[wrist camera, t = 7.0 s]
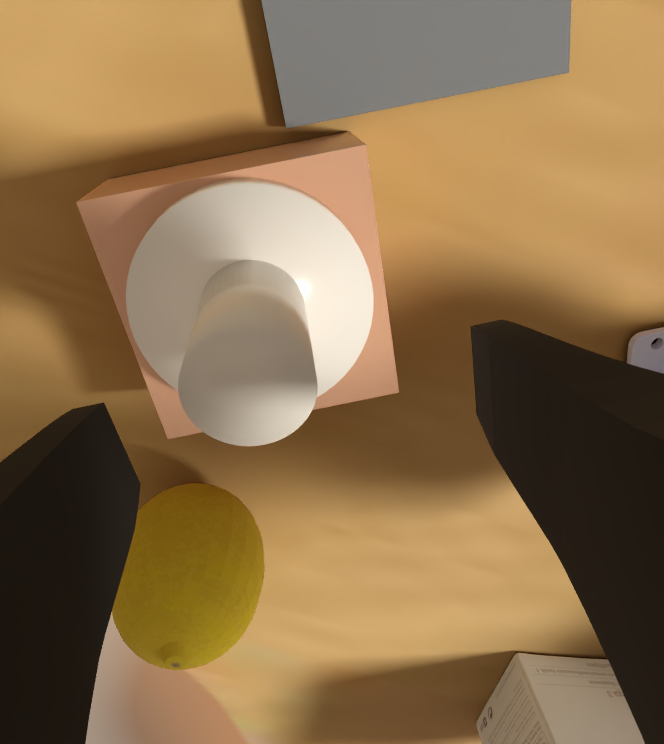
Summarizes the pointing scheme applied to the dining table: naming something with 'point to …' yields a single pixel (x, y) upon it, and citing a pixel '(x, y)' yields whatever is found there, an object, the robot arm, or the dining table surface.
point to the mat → (407, 51)
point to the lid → (249, 305)
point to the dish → (278, 163)
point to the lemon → (189, 577)
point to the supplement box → (557, 704)
